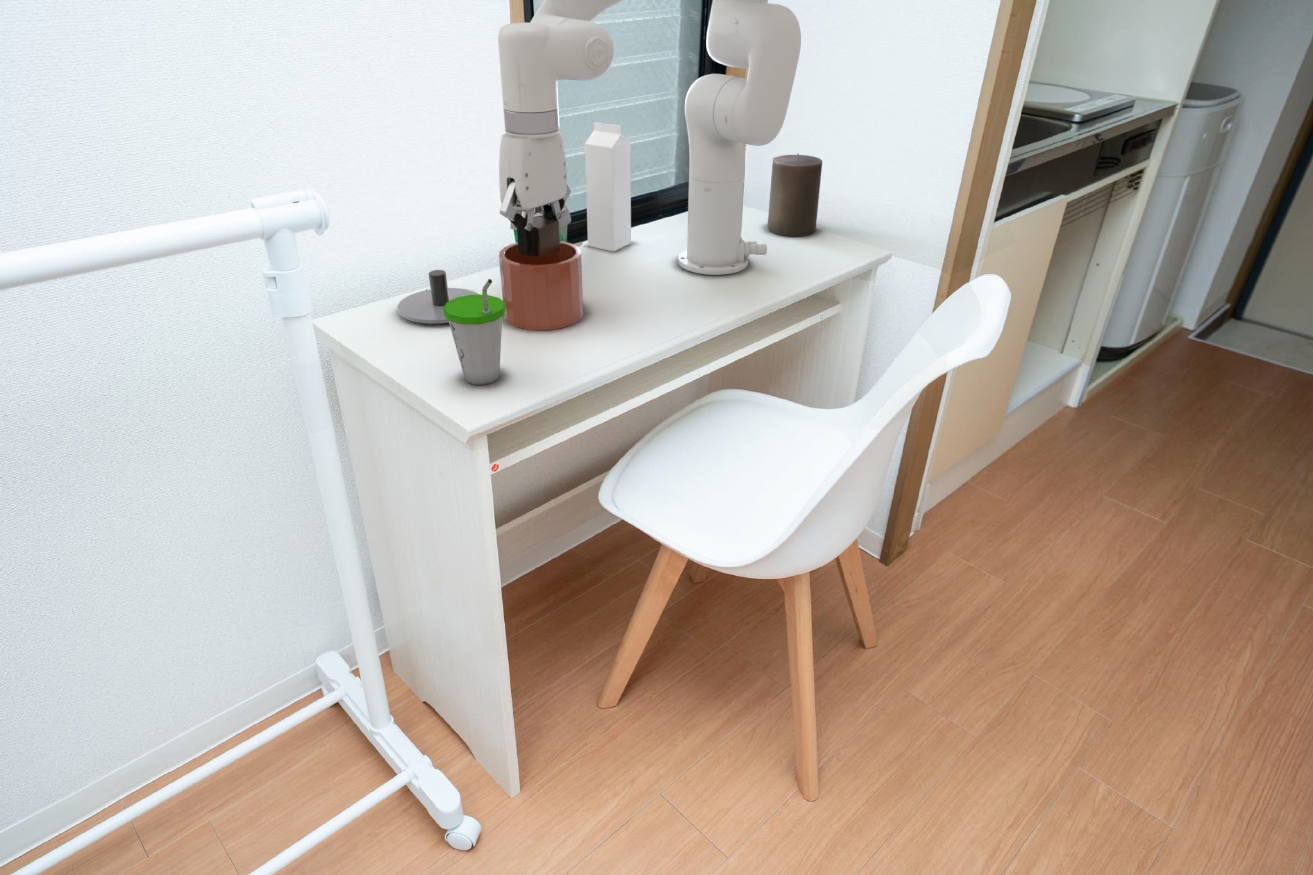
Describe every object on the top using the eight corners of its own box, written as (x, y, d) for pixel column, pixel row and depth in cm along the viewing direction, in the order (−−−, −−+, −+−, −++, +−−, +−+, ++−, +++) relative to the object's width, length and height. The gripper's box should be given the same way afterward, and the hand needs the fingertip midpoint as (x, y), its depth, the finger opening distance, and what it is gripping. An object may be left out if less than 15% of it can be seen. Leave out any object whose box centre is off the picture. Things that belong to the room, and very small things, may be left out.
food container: (539, 281, 144) (535, 223, 139) (513, 273, 148) (509, 216, 142) (587, 262, 153) (585, 207, 148) (562, 255, 156) (559, 201, 151)
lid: (487, 293, 139) (483, 257, 136) (481, 325, 128) (477, 287, 125) (405, 295, 138) (399, 259, 135) (392, 328, 127) (385, 289, 124)
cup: (451, 367, 116) (438, 262, 108) (509, 362, 118) (499, 258, 110) (453, 393, 110) (438, 284, 102) (514, 388, 111) (504, 279, 103)
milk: (613, 252, 158) (611, 129, 146) (587, 246, 161) (583, 124, 149) (631, 243, 162) (630, 123, 151) (605, 237, 165) (603, 119, 153)
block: (538, 244, 129) (536, 216, 127) (560, 250, 127) (559, 221, 125) (518, 252, 126) (516, 223, 124) (541, 257, 124) (539, 228, 122)
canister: (582, 298, 138) (579, 238, 133) (584, 329, 128) (581, 265, 122) (506, 300, 137) (501, 240, 132) (502, 331, 126) (496, 267, 121)
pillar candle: (813, 238, 166) (822, 160, 158) (763, 234, 168) (769, 156, 160) (817, 224, 174) (825, 148, 166) (769, 220, 176) (775, 145, 168)
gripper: (550, 110, 125) (556, 231, 135) (468, 128, 113) (481, 260, 123) (590, 116, 122) (594, 240, 131) (510, 135, 110) (520, 271, 119)
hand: (539, 248), depth 127 cm, fingers closed on block, 4 cm apart
